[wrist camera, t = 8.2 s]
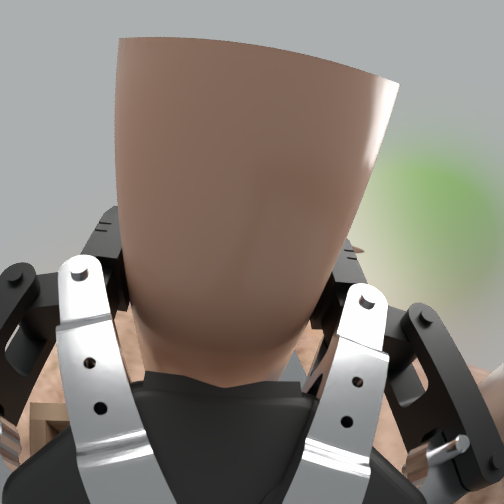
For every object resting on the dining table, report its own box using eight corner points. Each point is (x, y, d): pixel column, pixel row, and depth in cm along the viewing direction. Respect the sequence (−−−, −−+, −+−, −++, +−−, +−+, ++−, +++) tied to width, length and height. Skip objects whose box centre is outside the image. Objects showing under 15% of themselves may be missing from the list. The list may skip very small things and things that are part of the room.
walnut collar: (161, 414, 23) (158, 399, 21) (191, 531, 15) (191, 534, 13) (45, 417, 19) (29, 402, 17) (58, 532, 11) (40, 531, 9)
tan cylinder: (263, 446, 14) (460, 111, 4) (147, 438, 13) (59, 44, 3) (256, 323, 20) (327, 60, 10) (165, 315, 19) (175, 37, 9)
